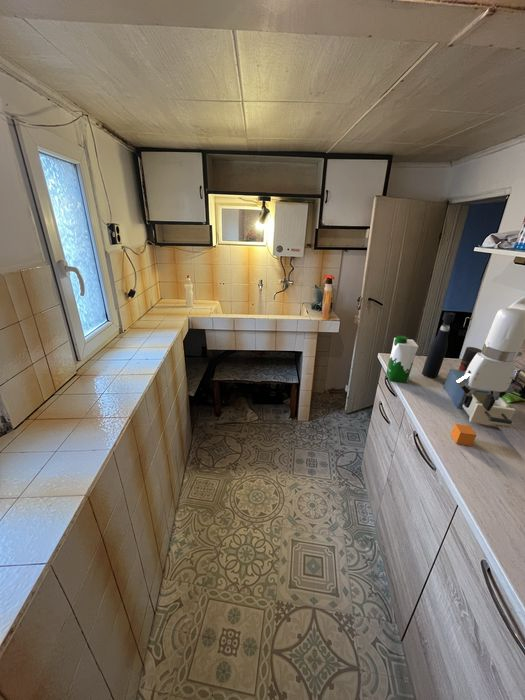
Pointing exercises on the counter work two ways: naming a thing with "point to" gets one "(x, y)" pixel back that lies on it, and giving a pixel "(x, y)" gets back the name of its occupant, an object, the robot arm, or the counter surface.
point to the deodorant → (468, 357)
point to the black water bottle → (438, 348)
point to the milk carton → (401, 359)
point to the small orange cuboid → (463, 434)
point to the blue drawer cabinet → (457, 387)
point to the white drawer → (496, 414)
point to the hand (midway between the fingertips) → (475, 406)
